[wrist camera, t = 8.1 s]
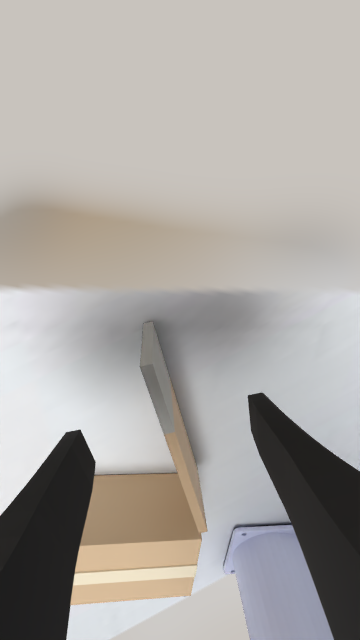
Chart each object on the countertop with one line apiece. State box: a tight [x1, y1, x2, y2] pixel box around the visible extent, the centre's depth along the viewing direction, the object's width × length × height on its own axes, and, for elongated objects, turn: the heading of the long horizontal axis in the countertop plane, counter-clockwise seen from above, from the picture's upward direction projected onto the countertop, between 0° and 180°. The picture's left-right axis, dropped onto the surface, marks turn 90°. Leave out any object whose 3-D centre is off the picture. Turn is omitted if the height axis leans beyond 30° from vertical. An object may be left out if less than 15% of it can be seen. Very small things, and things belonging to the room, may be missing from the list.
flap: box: [140, 321, 207, 533], centre depth 18 cm, size 14×1×5 cm, turn 13°
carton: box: [70, 473, 202, 605], centre depth 22 cm, size 10×8×5 cm
